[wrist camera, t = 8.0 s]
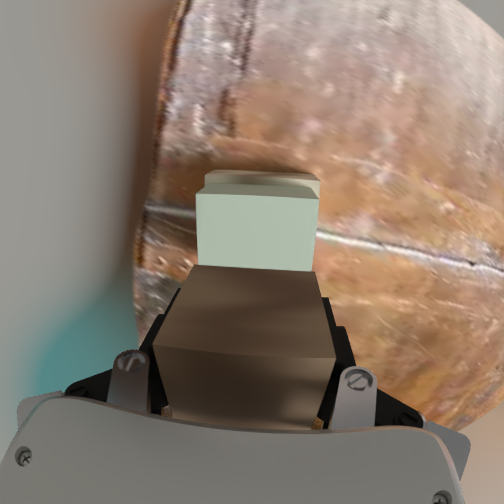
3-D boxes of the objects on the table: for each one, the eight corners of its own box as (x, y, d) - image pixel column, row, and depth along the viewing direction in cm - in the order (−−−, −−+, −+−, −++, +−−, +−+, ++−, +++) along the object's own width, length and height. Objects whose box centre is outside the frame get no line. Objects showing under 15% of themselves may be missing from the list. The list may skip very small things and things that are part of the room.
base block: (313, 173, 25) (320, 180, 21) (304, 263, 28) (308, 283, 25) (214, 169, 25) (204, 175, 22) (215, 258, 29) (207, 277, 25)
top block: (311, 188, 21) (319, 199, 18) (301, 279, 25) (306, 304, 21) (208, 183, 22) (195, 193, 18) (210, 274, 25) (200, 298, 21)
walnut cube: (314, 271, 12) (336, 357, 7) (299, 358, 14) (305, 442, 9) (194, 264, 12) (152, 343, 7) (201, 351, 14) (178, 432, 9)
